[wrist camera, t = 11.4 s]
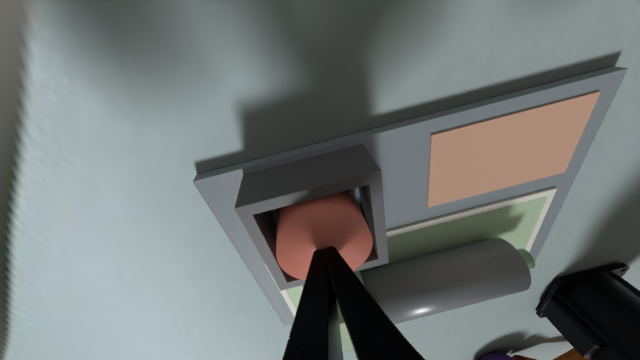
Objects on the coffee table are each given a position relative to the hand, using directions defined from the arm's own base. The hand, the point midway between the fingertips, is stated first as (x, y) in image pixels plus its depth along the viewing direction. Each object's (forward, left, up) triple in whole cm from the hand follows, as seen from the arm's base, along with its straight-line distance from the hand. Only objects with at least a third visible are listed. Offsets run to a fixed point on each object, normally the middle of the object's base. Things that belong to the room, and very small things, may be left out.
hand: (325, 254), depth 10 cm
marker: (-5, +7, -3) cm, 9 cm away
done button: (0, 0, -3) cm, 3 cm away
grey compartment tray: (-5, +4, -4) cm, 7 cm away
